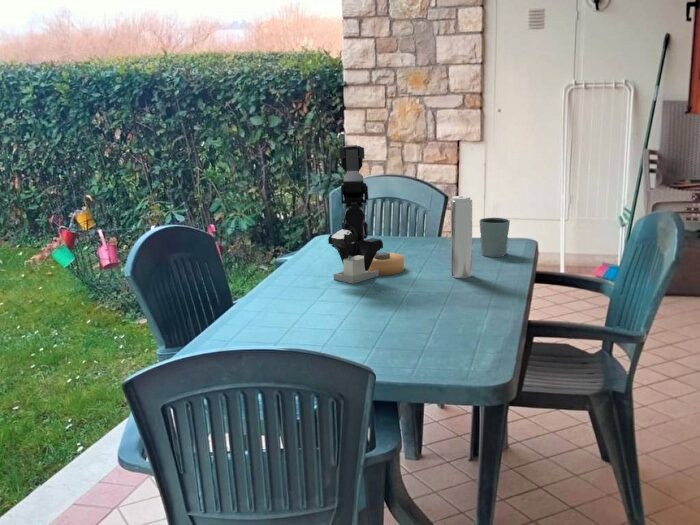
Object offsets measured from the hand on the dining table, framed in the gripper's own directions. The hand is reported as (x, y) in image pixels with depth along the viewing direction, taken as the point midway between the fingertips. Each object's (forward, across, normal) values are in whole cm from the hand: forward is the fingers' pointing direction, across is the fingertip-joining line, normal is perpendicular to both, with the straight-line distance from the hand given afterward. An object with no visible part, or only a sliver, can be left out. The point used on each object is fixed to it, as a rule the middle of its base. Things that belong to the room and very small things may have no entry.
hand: (355, 268), depth 253 cm
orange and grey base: (+3, 0, +7) cm, 7 cm away
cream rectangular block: (+3, 0, 0) cm, 3 cm away
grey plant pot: (+3, +17, +52) cm, 54 cm away
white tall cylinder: (+3, +25, +22) cm, 33 cm away
